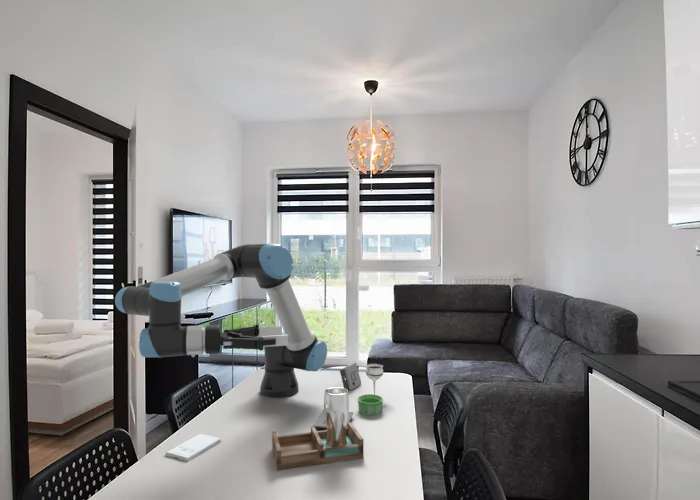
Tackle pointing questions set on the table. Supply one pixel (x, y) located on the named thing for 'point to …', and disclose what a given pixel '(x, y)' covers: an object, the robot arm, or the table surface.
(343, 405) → the chrome pint tumbler
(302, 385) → the table surface
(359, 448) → the caddy
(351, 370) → the electrical switch
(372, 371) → the wineglass
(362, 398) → the ramekin
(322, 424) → the electrical outlet
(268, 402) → the table surface
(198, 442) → the external hard drive
